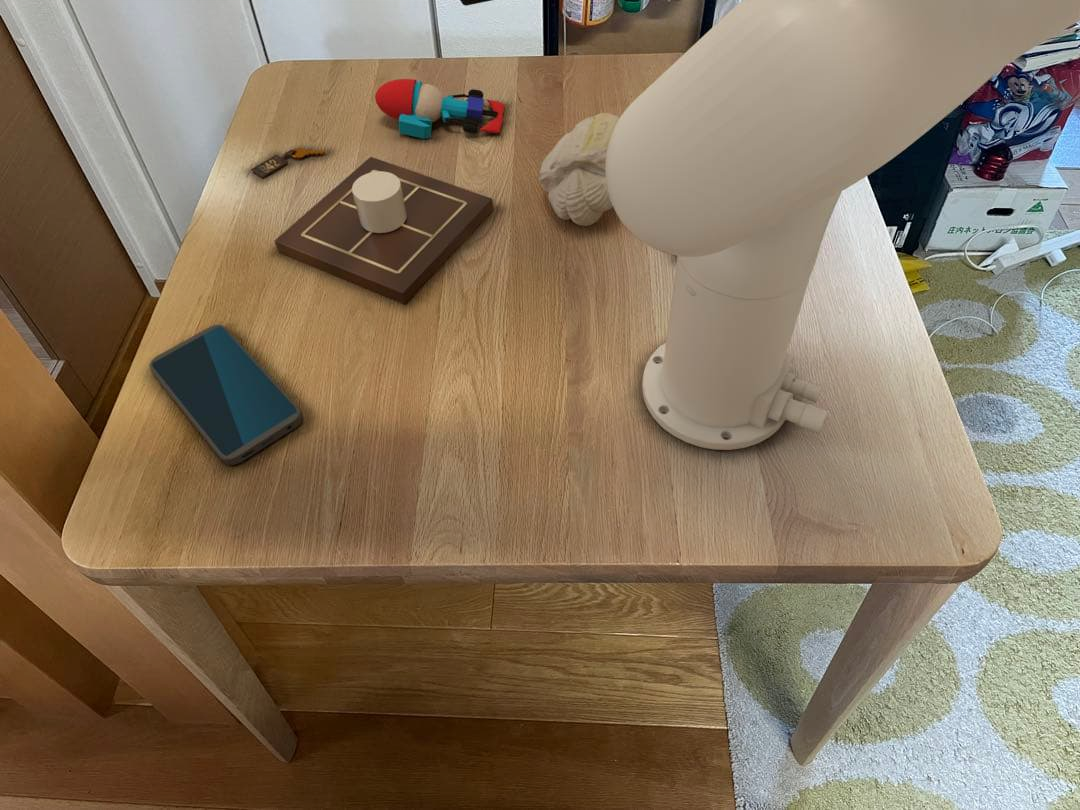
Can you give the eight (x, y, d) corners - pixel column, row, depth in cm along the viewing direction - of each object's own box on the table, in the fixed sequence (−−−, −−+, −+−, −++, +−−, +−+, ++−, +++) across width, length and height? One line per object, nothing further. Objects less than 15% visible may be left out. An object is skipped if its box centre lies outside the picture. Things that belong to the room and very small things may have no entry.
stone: (416, 211, 85) (410, 179, 81) (388, 239, 82) (381, 206, 79) (378, 198, 86) (371, 165, 83) (350, 224, 84) (341, 192, 80)
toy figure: (503, 113, 101) (380, 95, 99) (507, 78, 97) (379, 58, 95) (498, 154, 97) (370, 135, 95) (502, 119, 92) (368, 99, 91)
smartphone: (228, 470, 67) (225, 464, 66) (148, 368, 74) (143, 361, 73) (308, 420, 70) (305, 413, 69) (223, 326, 77) (220, 319, 76)
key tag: (258, 179, 91) (256, 175, 91) (248, 166, 93) (246, 161, 92) (325, 153, 94) (324, 149, 93) (315, 141, 95) (313, 136, 95)
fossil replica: (546, 243, 84) (641, 237, 85) (552, 178, 77) (656, 173, 78) (529, 164, 90) (618, 160, 92) (533, 98, 83) (629, 95, 85)
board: (493, 209, 87) (492, 197, 86) (405, 304, 78) (402, 292, 77) (373, 167, 92) (370, 155, 91) (278, 252, 84) (273, 239, 83)
